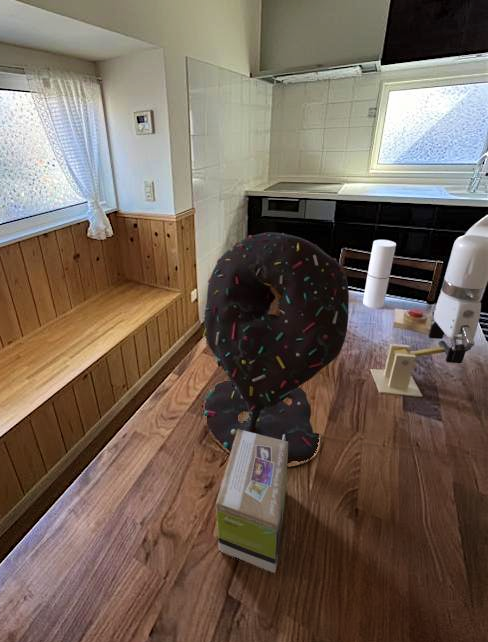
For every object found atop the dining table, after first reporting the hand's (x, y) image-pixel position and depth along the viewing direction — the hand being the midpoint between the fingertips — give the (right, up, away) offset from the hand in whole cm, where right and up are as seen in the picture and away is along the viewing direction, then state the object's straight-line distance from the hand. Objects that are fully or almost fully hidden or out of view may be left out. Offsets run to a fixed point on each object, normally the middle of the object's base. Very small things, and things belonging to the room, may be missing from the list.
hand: (443, 349), depth 84 cm
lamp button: (+14, +5, +31) cm, 34 cm away
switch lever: (-4, -2, +2) cm, 5 cm away
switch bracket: (-8, -11, +7) cm, 16 cm away
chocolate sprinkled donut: (-45, -17, +2) cm, 48 cm away
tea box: (-52, -28, -21) cm, 62 cm away
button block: (+14, +1, +32) cm, 35 cm away
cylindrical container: (+7, +7, +46) cm, 47 cm away
